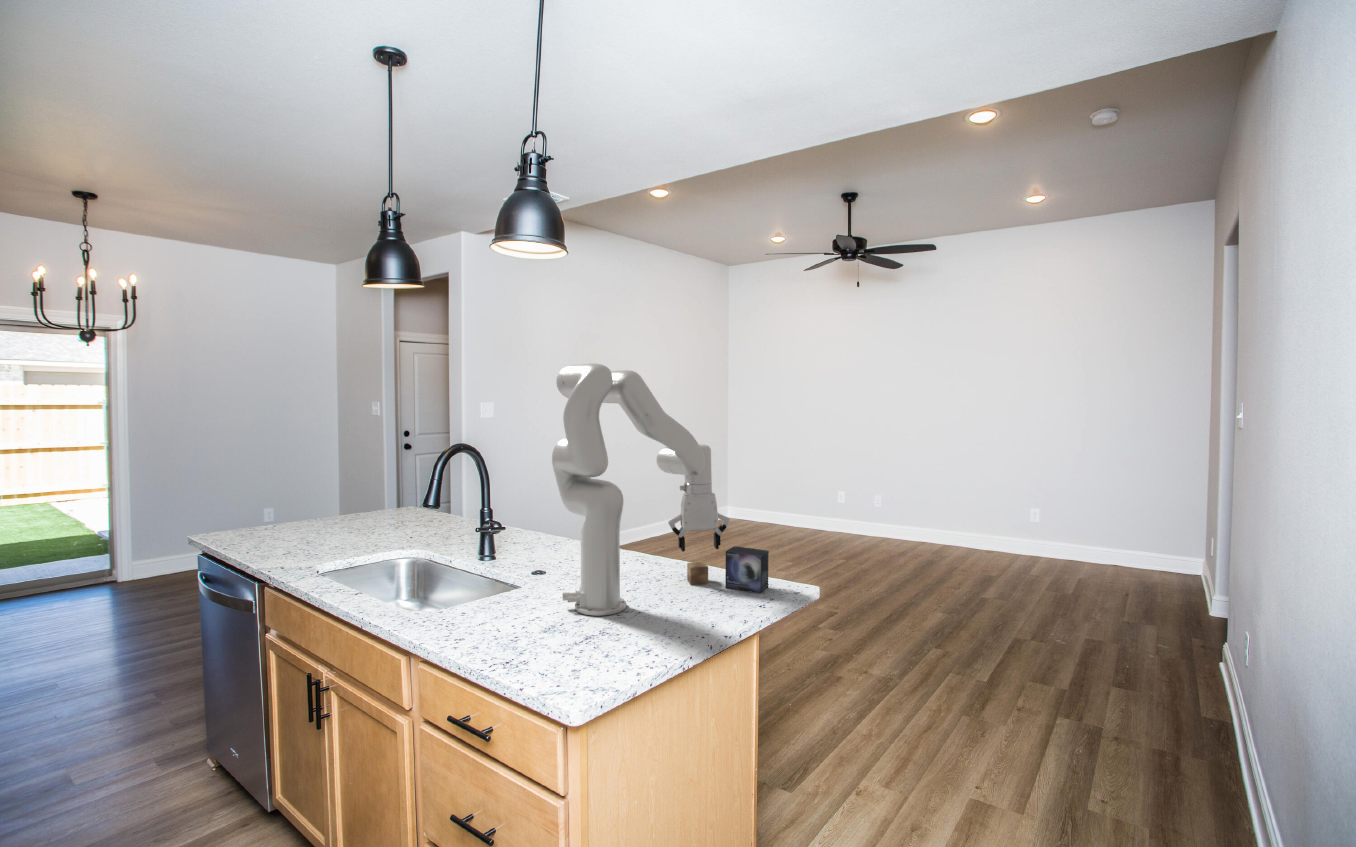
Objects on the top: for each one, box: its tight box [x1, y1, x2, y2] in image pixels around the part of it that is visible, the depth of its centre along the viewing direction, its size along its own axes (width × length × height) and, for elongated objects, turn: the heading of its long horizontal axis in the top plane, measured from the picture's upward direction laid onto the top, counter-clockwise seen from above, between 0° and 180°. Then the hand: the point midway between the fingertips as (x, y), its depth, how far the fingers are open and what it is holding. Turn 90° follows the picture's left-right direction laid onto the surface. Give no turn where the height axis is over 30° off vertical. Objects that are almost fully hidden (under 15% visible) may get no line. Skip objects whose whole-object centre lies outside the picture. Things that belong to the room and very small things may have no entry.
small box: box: [724, 545, 770, 595], centre depth 178 cm, size 11×6×10 cm, turn 62°
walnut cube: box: [686, 561, 709, 586], centre depth 184 cm, size 5×5×5 cm
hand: (699, 549), depth 184 cm, fingers open, 9 cm apart
